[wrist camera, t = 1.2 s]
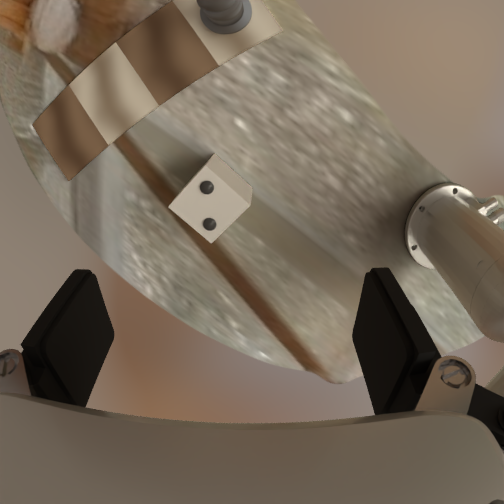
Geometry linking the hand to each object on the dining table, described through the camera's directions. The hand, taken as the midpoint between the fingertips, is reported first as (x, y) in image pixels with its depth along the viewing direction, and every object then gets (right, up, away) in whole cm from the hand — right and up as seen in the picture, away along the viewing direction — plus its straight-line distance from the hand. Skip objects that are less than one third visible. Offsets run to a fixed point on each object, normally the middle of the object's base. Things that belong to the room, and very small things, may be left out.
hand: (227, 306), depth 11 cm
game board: (-12, +22, +20) cm, 32 cm away
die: (-3, +9, +27) cm, 29 cm away
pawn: (-2, +27, +16) cm, 32 cm away
